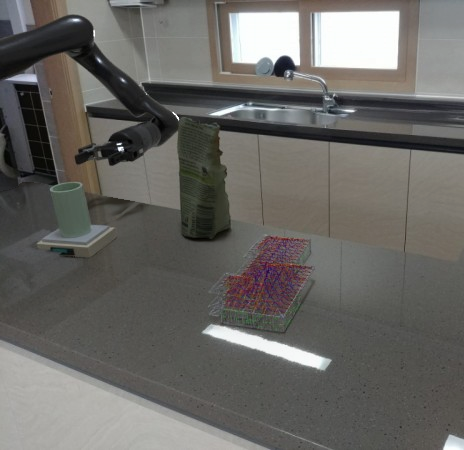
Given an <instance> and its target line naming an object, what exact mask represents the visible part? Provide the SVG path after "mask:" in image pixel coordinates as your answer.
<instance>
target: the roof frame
mask: <svg viewBox="0 0 464 450" xmlns="http://www.w3.org/2000/svg"><path fill="white" fill-rule="evenodd" d="M306 249H307V250H306ZM291 251H292V252H291ZM311 253H312V239H311V238H310V239H309V238H299V237H297V238H296V237H285V236H278V235H277V236H274V235H271V234H262V235H261V236H260V237H259V238H258V239H257V241H256V242H255V243H254V244H253V245H252V246H251V248H249V249H248V251H247V252H246V253H245V254H244V255H243V258H244V259H248V260H246V262H245V263H244V264H243V265H242V266H241V267H240V269H239V270H238V271H237V272H236V273H234V272H225V273H224V274H223V275H222V276H221V277H220V278H219V280H218V281H217V282H215V284H214V285H213V286H212V287H211V288H210V289H209V291H208V292H207V293H208V294H212V295H216V297H215V298H214V299H213V300H212V301H210V303H209V304H208V306H207V308H209V309H212V310H210V312H209V313H208V316H211V317H217V318H220V321H221V324H226V325H227V324H228V325H235V326H239V325H240V326H241V327H247V328H248V327H249V328H255V329H260V330H261V329H262V330H267V331H273V330H274V331H275V332H282V333H284V332H285V331H286V330H287V328H288V326H289V325H290V323H291V321H292V319H293V317H294V316H295V314H296V312H297V310H298V309H299V307H300V306H301V304H302V296H301V295H302V293H301V292H302V291H303V290H304V288H305V286H306V284H307V283H308V281H309V279H310V278H311V276H312V275H313V273H314V271H315V270H316V266H315V265H307V264H306V265H305V262H306V261H307V259H308V258H309V256H310V255H311ZM251 259H252V260H251ZM301 262H302V263H301ZM244 267H245V268H244ZM306 272H307V273H308V274H307V273H306ZM298 273H299V274H298ZM301 274H302V275H301ZM304 276H305V277H306V278H305V277H304ZM293 280H294V281H293ZM300 284H301V285H300ZM274 285H276V286H274ZM297 287H299V288H297ZM214 291H215V292H214ZM278 291H279V292H278ZM217 292H218V293H217ZM280 292H281V293H280ZM266 295H267V296H266ZM279 296H281V297H280V298H279ZM270 298H271V300H272V301H271V300H268V299H270ZM275 300H277V301H275ZM280 301H281V302H280ZM286 301H288V302H286ZM289 302H291V303H289ZM270 303H271V305H270ZM296 303H298V305H297V306H296ZM274 304H276V306H275V307H274ZM284 305H287V306H288V307H286V306H284ZM230 307H231V308H230ZM234 308H236V309H234ZM216 309H217V310H216ZM241 309H242V310H241ZM282 309H283V310H284V309H285V310H286V311H283V310H282ZM213 311H214V312H213ZM266 311H267V312H271V314H265V313H266ZM278 312H279V314H280V315H278V316H277V313H278ZM216 313H217V314H216ZM273 313H274V315H272V314H273ZM288 314H289V315H291V317H289V320H288V321H287V318H286V316H287V315H288ZM231 315H232V316H231ZM238 315H239V316H238ZM245 316H246V319H245ZM265 316H266V317H265ZM268 316H269V317H271V318H269V320H267V318H268ZM232 317H233V319H232ZM240 319H241V322H242V324H241V323H240ZM261 319H262V321H263V322H262V323H263V325H264V326H262V325H261V326H260V325H259V321H260V320H261ZM264 319H265V320H266V321H265V320H264ZM225 320H226V321H225ZM233 320H234V322H238V323H233ZM271 320H278V322H282V323H278V326H282V328H275V325H274V324H275V323H274V321H272V322H271ZM250 324H252V325H250ZM265 324H266V325H265ZM269 327H270V328H269Z"/></svg>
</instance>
